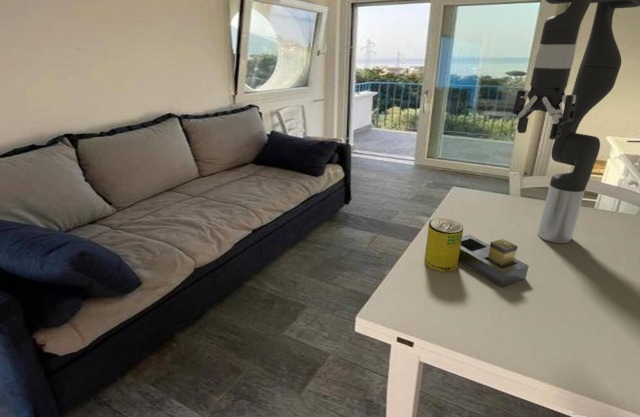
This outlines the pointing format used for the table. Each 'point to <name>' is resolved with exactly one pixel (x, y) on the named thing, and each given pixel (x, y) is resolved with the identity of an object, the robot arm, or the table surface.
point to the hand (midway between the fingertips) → (536, 135)
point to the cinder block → (489, 263)
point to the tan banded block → (502, 253)
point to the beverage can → (443, 244)
